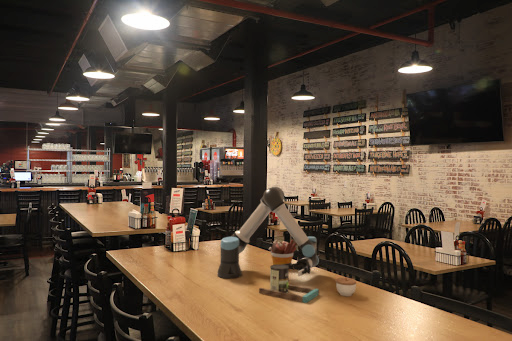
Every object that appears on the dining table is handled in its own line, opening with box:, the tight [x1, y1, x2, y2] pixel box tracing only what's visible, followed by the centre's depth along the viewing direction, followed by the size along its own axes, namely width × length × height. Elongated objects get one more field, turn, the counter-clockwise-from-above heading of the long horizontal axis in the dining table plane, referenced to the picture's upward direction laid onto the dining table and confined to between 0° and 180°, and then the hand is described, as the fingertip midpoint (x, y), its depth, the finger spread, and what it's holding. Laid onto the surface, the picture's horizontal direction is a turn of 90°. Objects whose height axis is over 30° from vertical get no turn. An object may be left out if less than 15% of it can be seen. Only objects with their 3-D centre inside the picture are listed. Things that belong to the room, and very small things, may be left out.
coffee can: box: [269, 264, 290, 293], centre depth 216 cm, size 10×10×14 cm
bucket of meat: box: [268, 239, 297, 265], centre depth 272 cm, size 20×16×20 cm
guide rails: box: [258, 283, 320, 303], centre depth 213 cm, size 28×16×2 cm, turn 58°
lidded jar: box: [335, 276, 357, 297], centre depth 214 cm, size 11×11×9 cm
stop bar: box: [301, 288, 320, 304], centre depth 206 cm, size 2×16×3 cm, turn 148°
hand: (287, 272), depth 225 cm, fingers open, 13 cm apart
